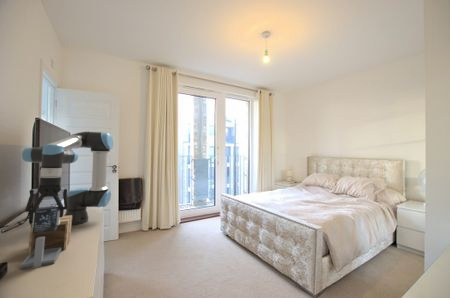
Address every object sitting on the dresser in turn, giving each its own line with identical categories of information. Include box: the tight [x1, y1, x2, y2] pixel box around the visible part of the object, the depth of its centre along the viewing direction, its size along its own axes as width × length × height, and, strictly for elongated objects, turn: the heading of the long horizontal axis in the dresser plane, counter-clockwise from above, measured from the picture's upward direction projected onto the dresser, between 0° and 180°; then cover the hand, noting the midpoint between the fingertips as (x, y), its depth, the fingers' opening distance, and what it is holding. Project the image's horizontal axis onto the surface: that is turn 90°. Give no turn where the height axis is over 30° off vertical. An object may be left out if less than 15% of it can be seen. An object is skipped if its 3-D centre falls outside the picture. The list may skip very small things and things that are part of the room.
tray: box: [19, 236, 63, 270], centre depth 90 cm, size 14×11×12 cm
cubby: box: [27, 214, 73, 256], centre depth 102 cm, size 11×14×14 cm
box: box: [33, 205, 59, 234], centre depth 92 cm, size 8×6×11 cm
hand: (46, 225), depth 92 cm, fingers closed on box, 8 cm apart
